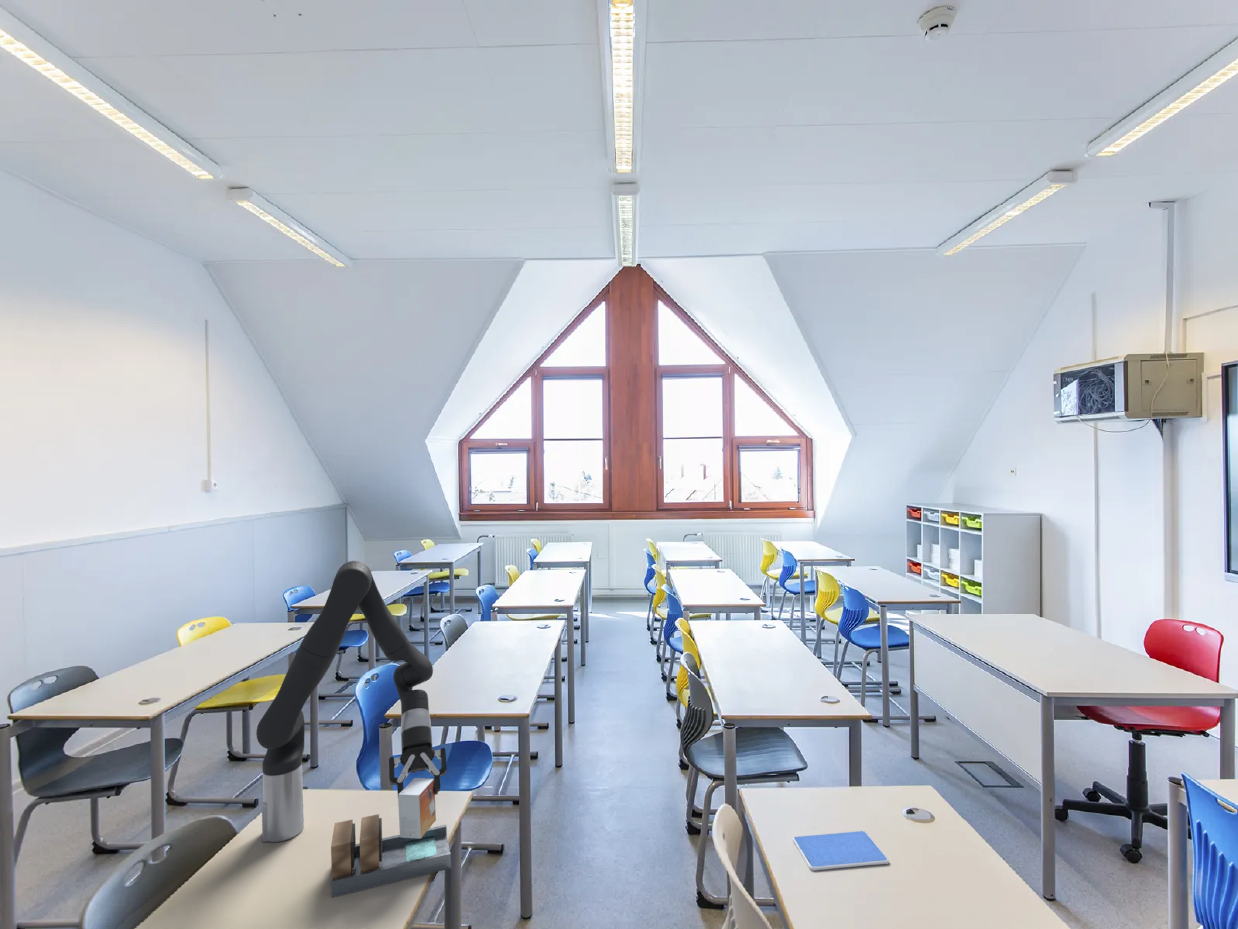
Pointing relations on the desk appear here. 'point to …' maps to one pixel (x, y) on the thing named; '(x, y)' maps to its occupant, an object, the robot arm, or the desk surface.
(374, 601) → the robot arm
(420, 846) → the grey shallow tray
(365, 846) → the twin brown uprights
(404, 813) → the small box
